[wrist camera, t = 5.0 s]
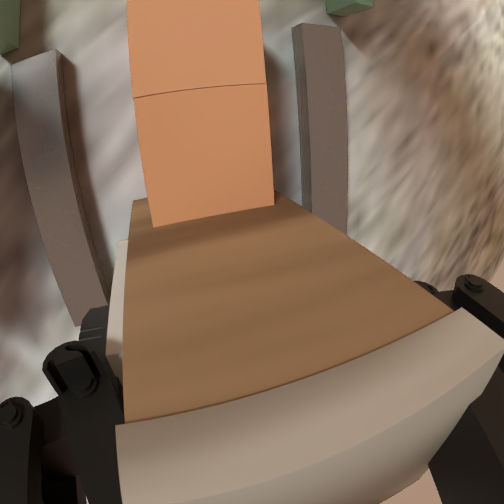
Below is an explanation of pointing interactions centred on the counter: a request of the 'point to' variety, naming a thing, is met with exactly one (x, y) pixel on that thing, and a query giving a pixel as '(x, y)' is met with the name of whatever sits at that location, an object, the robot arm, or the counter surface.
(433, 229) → the counter surface
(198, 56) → the orange cube piece
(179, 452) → the light brown tall block
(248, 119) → the orange cubic piece
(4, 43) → the green u-shaped frame
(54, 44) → the counter surface
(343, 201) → the slot rails
